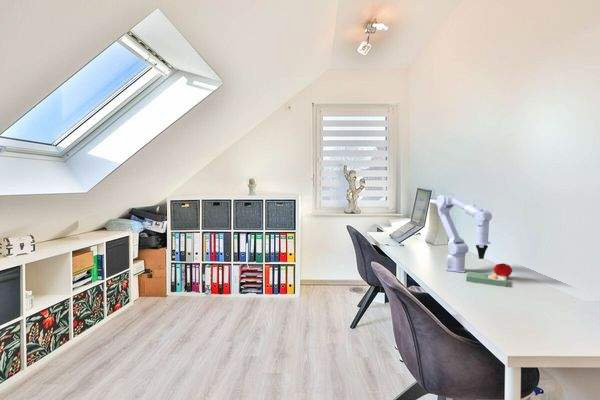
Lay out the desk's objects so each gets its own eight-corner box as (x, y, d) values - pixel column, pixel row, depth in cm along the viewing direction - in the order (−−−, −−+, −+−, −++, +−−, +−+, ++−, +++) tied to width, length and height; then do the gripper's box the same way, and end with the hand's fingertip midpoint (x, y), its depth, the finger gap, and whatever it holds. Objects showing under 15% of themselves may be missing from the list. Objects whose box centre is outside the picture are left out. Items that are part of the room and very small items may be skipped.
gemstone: (517, 280, 185) (516, 267, 193) (501, 271, 186) (500, 259, 194) (506, 290, 190) (505, 278, 198) (490, 281, 191) (490, 269, 199)
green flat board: (466, 281, 187) (466, 276, 186) (467, 276, 196) (468, 271, 196) (506, 286, 178) (506, 281, 178) (506, 281, 188) (506, 276, 187)
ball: (499, 279, 182) (494, 285, 184) (501, 277, 185) (495, 282, 187) (492, 274, 183) (487, 279, 185) (494, 271, 186) (488, 277, 188)
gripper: (490, 236, 185) (489, 262, 186) (491, 232, 197) (489, 256, 198) (475, 234, 188) (474, 260, 189) (476, 231, 201) (475, 255, 202)
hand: (481, 258), depth 194 cm, fingers closed
